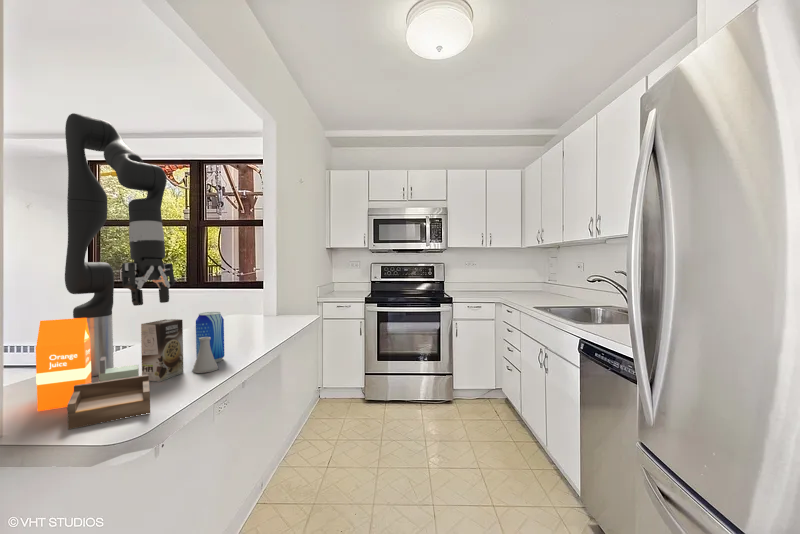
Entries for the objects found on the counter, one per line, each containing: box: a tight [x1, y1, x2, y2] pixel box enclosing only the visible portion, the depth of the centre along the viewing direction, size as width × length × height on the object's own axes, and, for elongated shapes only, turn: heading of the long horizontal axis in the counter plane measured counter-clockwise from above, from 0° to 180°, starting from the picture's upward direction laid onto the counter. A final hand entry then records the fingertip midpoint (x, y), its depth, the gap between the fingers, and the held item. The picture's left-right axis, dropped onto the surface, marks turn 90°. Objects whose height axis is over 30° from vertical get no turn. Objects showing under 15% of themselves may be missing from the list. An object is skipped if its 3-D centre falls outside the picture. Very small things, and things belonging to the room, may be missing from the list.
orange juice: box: [35, 318, 92, 412], centre depth 95 cm, size 8×9×20 cm
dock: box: [66, 374, 151, 430], centre depth 88 cm, size 11×14×6 cm
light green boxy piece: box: [98, 357, 140, 382], centre depth 100 cm, size 5×8×10 cm, turn 124°
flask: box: [192, 337, 219, 374], centre depth 121 cm, size 7×7×10 cm
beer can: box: [195, 311, 225, 364], centre depth 132 cm, size 8×8×16 cm
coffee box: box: [140, 318, 184, 382], centre depth 115 cm, size 9×6×16 cm
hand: (151, 303), depth 101 cm, fingers open, 8 cm apart
